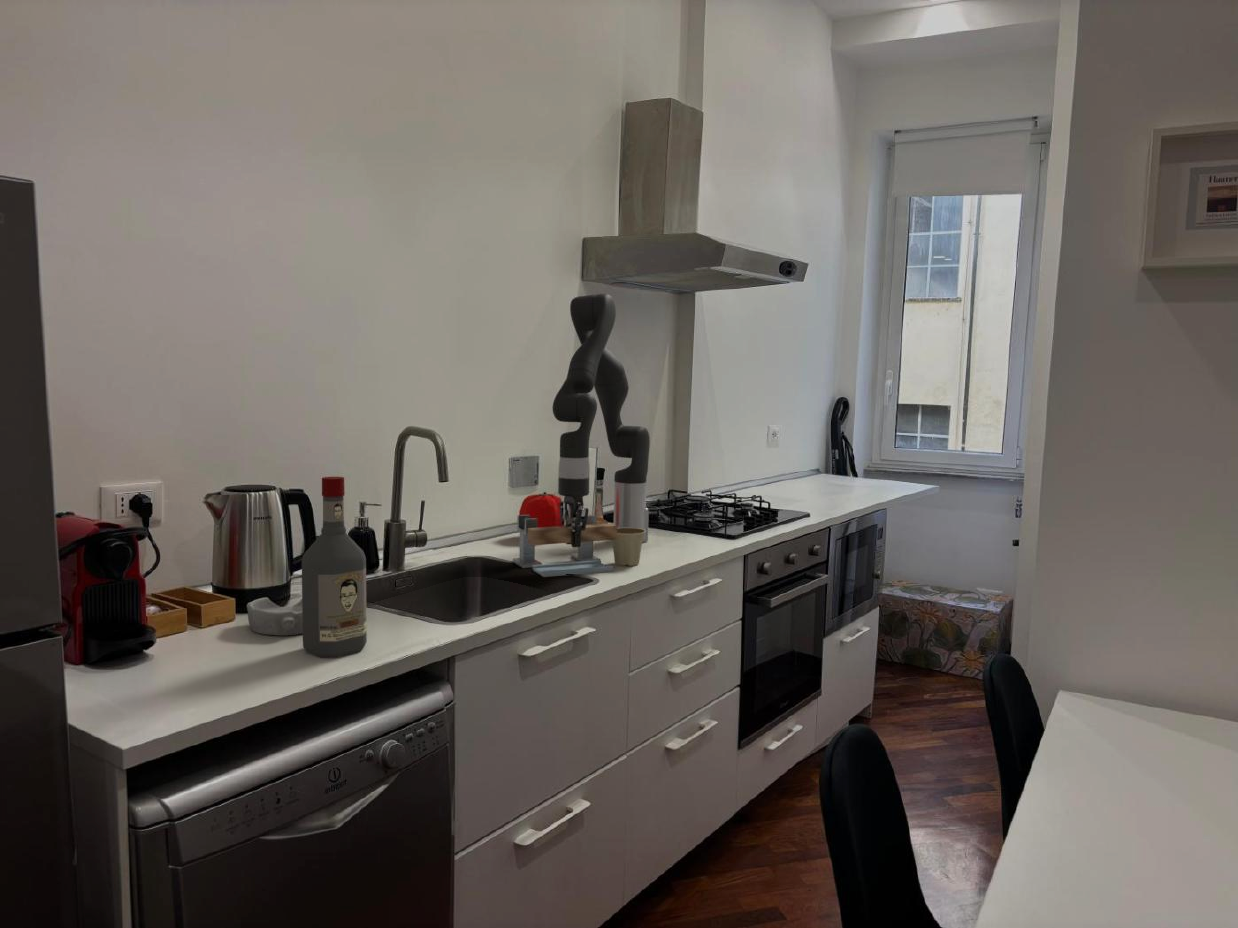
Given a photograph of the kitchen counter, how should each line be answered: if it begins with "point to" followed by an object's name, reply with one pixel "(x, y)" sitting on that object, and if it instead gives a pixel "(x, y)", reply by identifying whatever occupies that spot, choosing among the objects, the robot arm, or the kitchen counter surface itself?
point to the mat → (571, 568)
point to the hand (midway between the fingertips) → (572, 545)
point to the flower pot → (628, 546)
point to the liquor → (334, 583)
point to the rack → (528, 550)
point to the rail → (565, 534)
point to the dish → (275, 618)
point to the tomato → (543, 509)
